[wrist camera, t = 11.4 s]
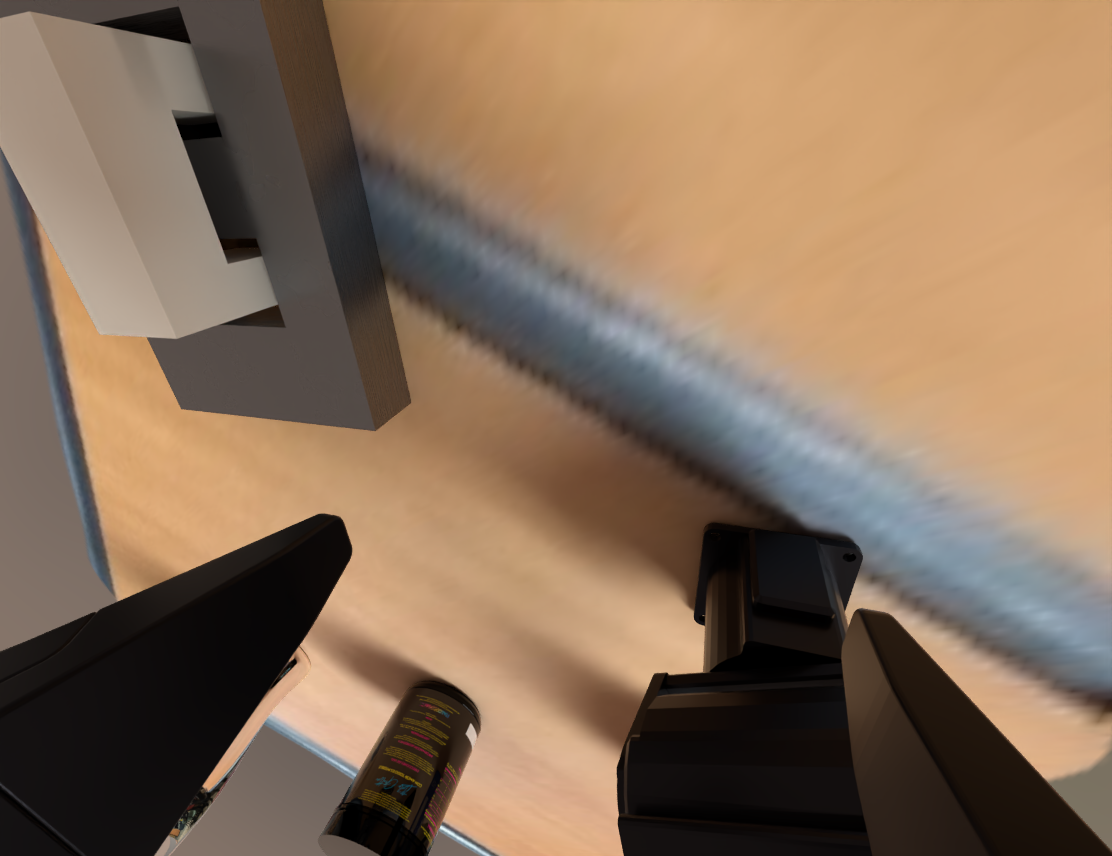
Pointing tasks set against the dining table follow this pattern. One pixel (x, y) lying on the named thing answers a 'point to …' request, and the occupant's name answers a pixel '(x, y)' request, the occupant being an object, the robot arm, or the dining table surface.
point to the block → (121, 175)
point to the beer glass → (237, 751)
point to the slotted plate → (275, 215)
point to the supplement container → (406, 777)
